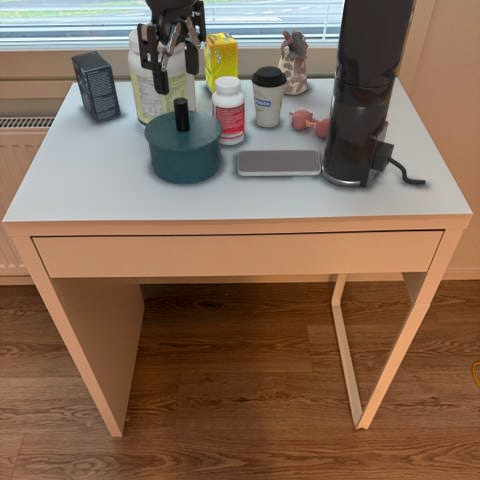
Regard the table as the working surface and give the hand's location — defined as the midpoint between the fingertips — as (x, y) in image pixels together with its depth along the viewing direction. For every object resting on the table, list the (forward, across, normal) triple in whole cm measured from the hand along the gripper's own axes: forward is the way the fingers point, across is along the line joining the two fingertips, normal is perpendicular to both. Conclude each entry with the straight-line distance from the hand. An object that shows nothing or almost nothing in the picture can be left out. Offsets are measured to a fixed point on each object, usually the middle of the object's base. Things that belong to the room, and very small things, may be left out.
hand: (178, 83), depth 80 cm
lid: (+8, 0, 0) cm, 8 cm away
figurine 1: (+15, +38, -3) cm, 41 cm away
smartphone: (+15, +8, -15) cm, 23 cm away
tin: (+15, 0, 0) cm, 15 cm away
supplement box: (+15, +29, +10) cm, 34 cm away
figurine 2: (+14, +26, -16) cm, 34 cm away
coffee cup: (+15, +21, -6) cm, 26 cm away
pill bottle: (+15, +12, -2) cm, 19 cm away
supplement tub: (+15, +11, +12) cm, 22 cm away
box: (+15, +8, +27) cm, 32 cm away
